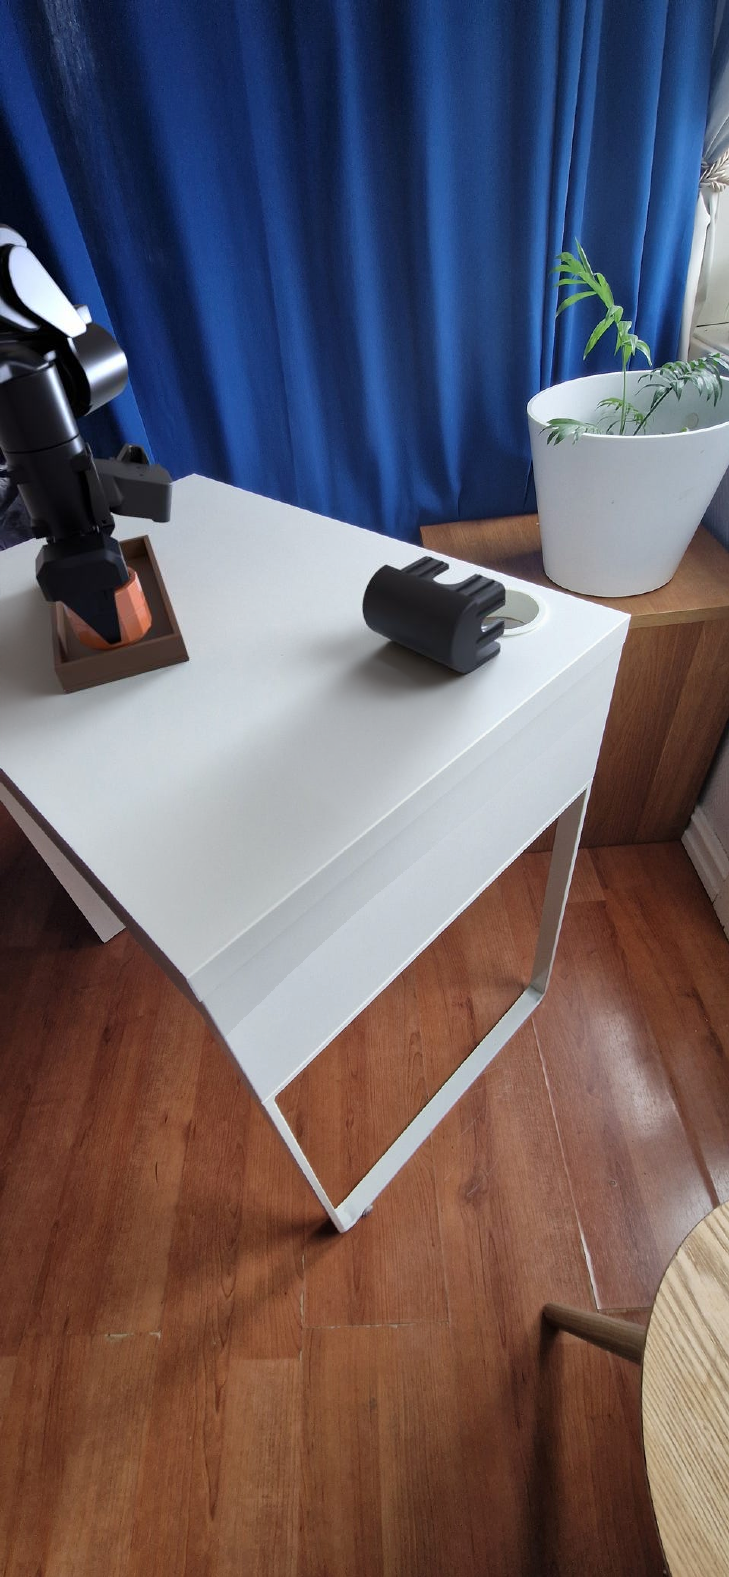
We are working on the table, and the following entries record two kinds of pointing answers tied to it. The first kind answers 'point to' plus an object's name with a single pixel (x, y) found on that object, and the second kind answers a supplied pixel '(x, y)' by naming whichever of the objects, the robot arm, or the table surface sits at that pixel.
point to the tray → (149, 653)
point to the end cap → (436, 613)
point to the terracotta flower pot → (130, 617)
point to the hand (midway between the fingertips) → (112, 624)
